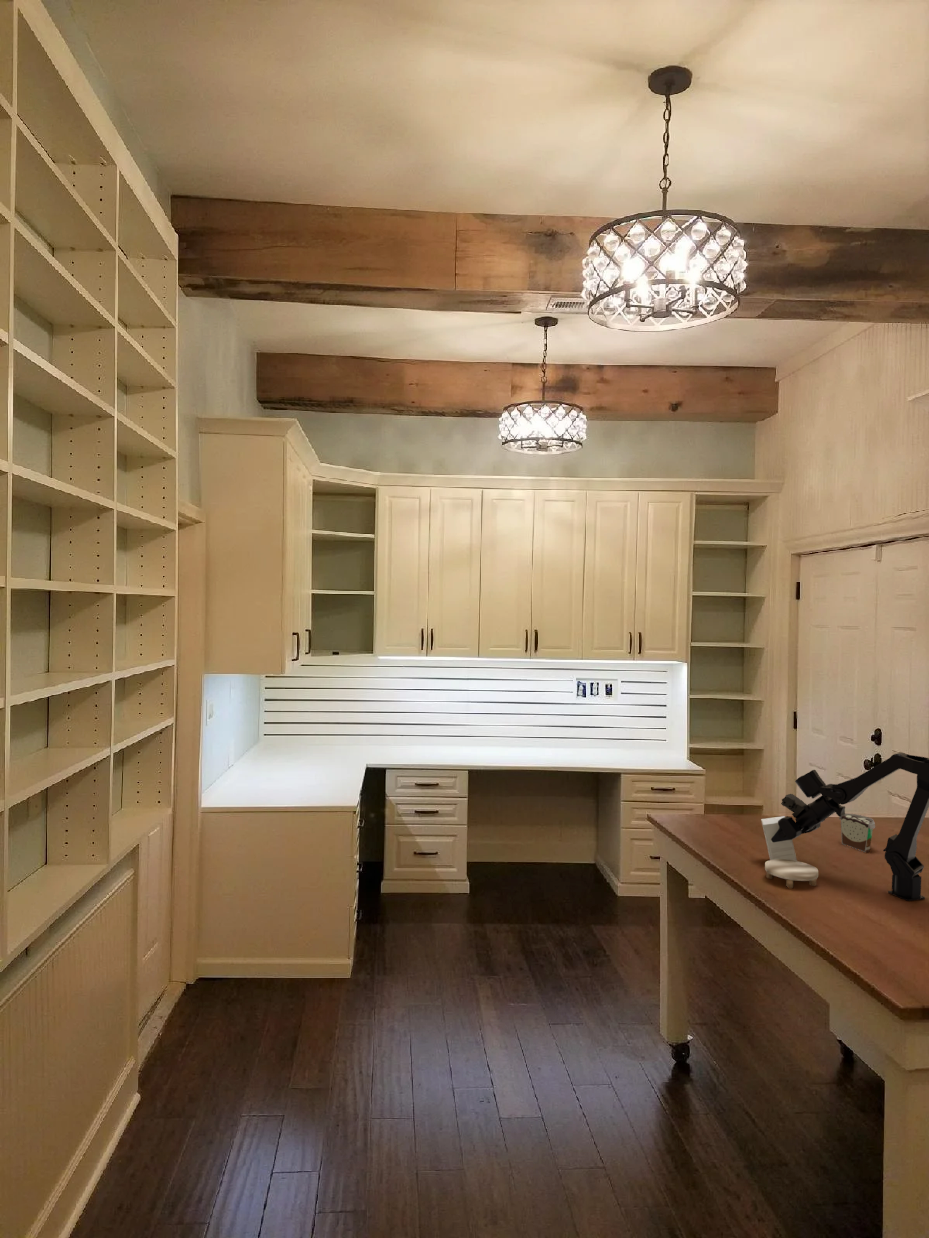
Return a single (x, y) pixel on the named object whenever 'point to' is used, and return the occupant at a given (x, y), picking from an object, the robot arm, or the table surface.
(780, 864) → the stool
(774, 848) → the supplement box
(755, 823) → the table surface
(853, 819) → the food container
